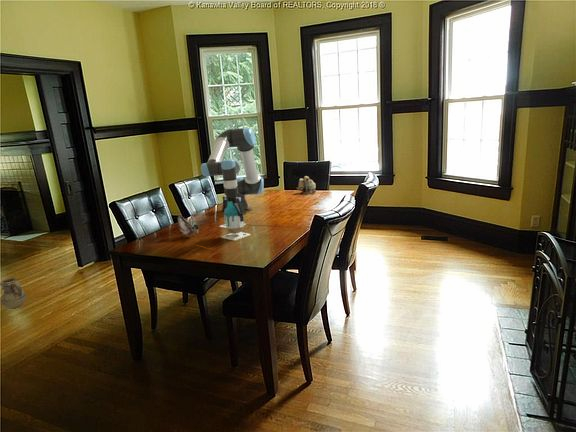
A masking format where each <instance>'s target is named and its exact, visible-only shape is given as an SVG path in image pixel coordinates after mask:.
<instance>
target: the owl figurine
mask: <svg viewBox="0 0 576 432" xmlns="http://www.w3.org/2000/svg"><path fill="white" fill-rule="evenodd" d="M316 187H317V186H316V183H315V182H314V181H313V179H311V178H310V177H309V176H307V175H305V176H304V177H303V178H299V180H298V186H297V187H296V190H297V191H300V192H299V194H300V193H303V194H310V195H314V194H315V193H316V192H317V190H316ZM313 193H314V194H313ZM303 194H302V195H303Z"/></svg>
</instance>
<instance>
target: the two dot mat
mask: <svg viewBox="0 0 576 432" xmlns="http://www.w3.org/2000/svg"><path fill="white" fill-rule="evenodd" d="M249 236H251V233H248V232H243V231H242V232H240V233H237V234H231V233H228V234H225V235H222V236H220V237H221V239H226V240H230V241H235V242H236V241H238V240H241V239H243V238H246V237H249Z"/></svg>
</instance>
